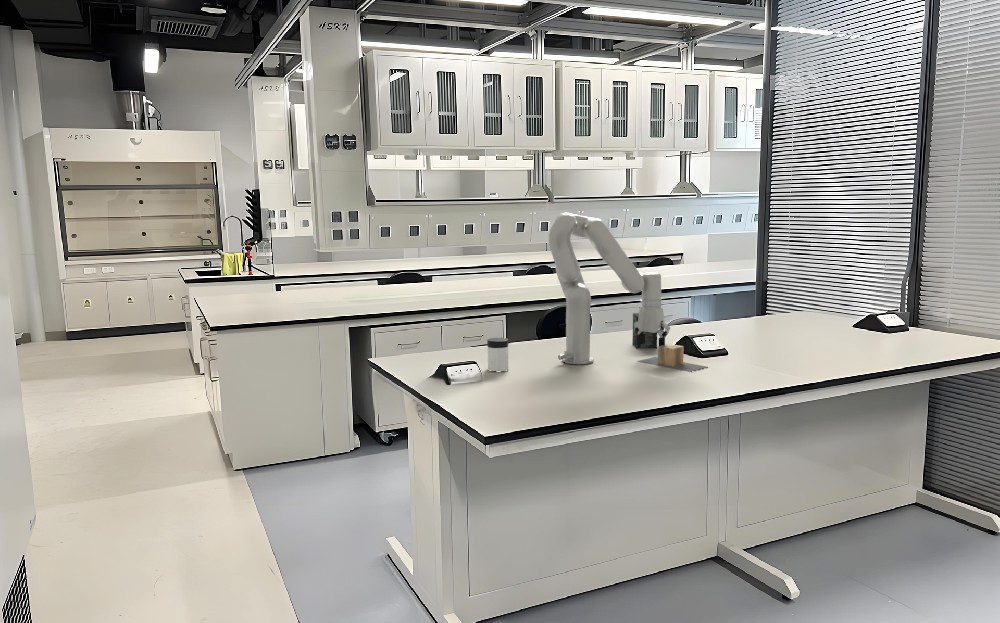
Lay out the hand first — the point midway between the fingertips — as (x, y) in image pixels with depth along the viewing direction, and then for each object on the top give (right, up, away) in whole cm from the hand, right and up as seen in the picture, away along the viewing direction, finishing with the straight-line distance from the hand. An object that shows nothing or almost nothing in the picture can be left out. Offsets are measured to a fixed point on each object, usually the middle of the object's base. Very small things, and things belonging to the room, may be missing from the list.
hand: (651, 345), depth 281 cm
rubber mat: (+6, -7, -7) cm, 12 cm away
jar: (-62, -9, -11) cm, 64 cm away
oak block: (+4, -3, -4) cm, 7 cm away
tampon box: (+3, -2, +29) cm, 29 cm away
